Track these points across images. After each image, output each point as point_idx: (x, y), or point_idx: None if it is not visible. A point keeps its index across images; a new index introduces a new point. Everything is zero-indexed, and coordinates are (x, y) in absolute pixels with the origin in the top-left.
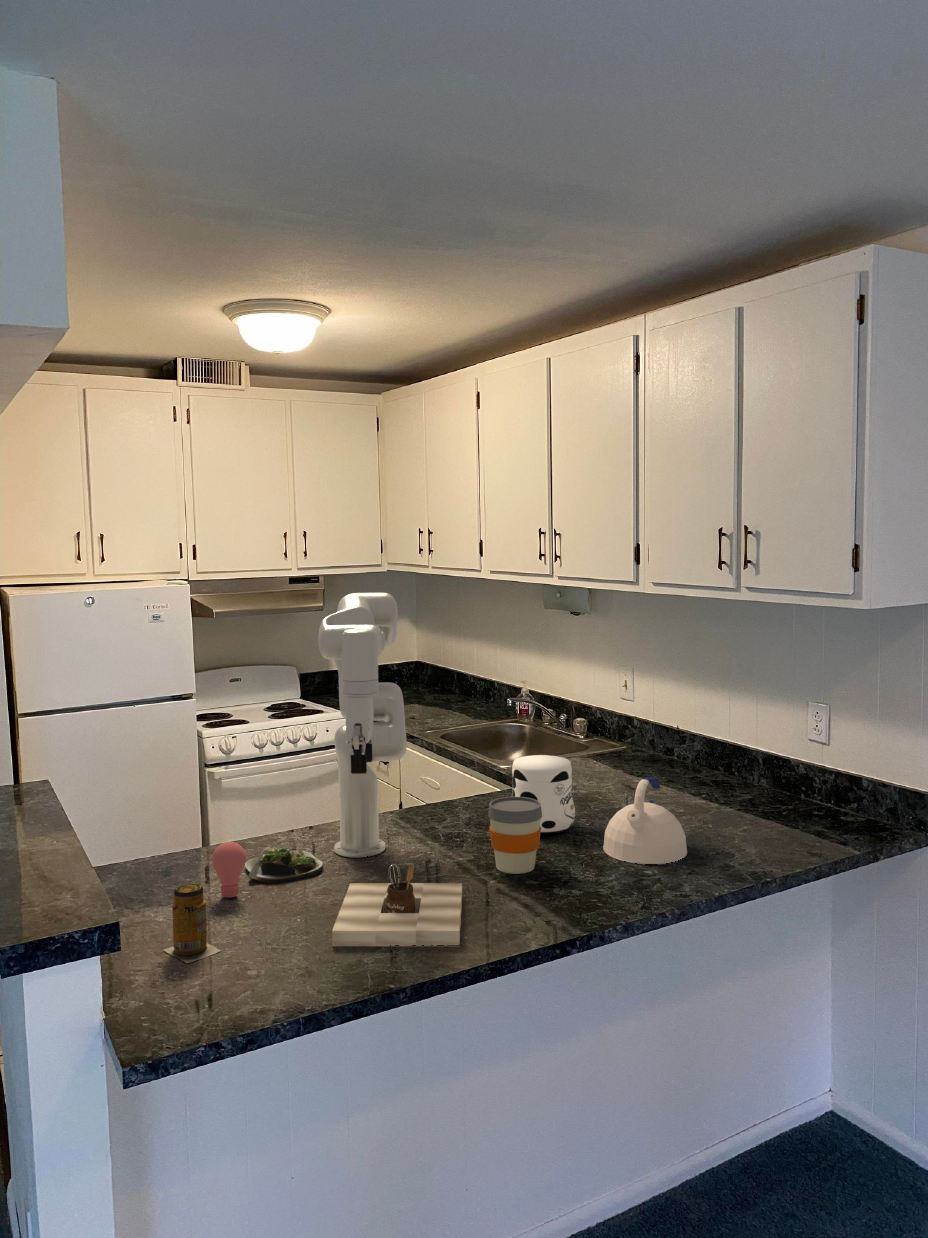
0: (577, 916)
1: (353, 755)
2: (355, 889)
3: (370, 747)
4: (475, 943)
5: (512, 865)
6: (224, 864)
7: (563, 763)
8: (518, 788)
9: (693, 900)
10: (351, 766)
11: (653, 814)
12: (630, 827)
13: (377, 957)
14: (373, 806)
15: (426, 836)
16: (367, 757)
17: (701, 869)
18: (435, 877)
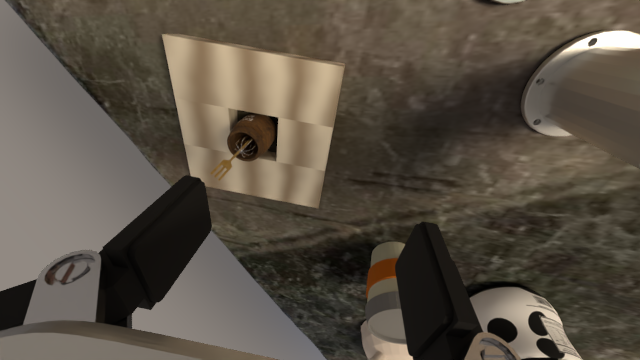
0: (267, 262)
1: (113, 256)
2: (315, 75)
3: (408, 338)
4: (209, 188)
5: (373, 256)
6: None
7: None
8: (527, 342)
9: (291, 317)
10: (163, 196)
11: None
12: (381, 350)
13: (161, 93)
14: (612, 150)
15: (566, 197)
16: (404, 272)
17: (345, 338)
18: (388, 183)
